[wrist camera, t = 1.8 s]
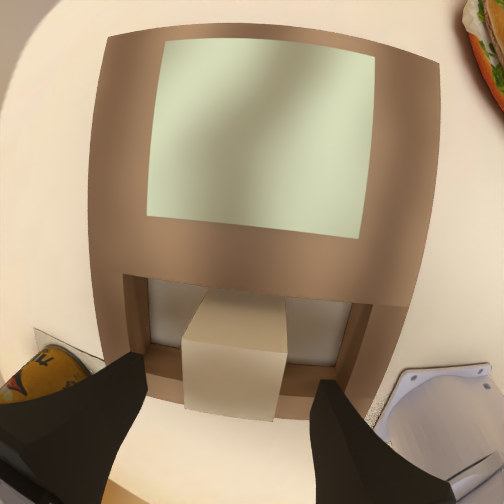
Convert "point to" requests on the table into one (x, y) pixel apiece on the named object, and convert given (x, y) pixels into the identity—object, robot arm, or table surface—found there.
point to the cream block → (235, 354)
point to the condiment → (49, 371)
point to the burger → (488, 41)
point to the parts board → (262, 186)
